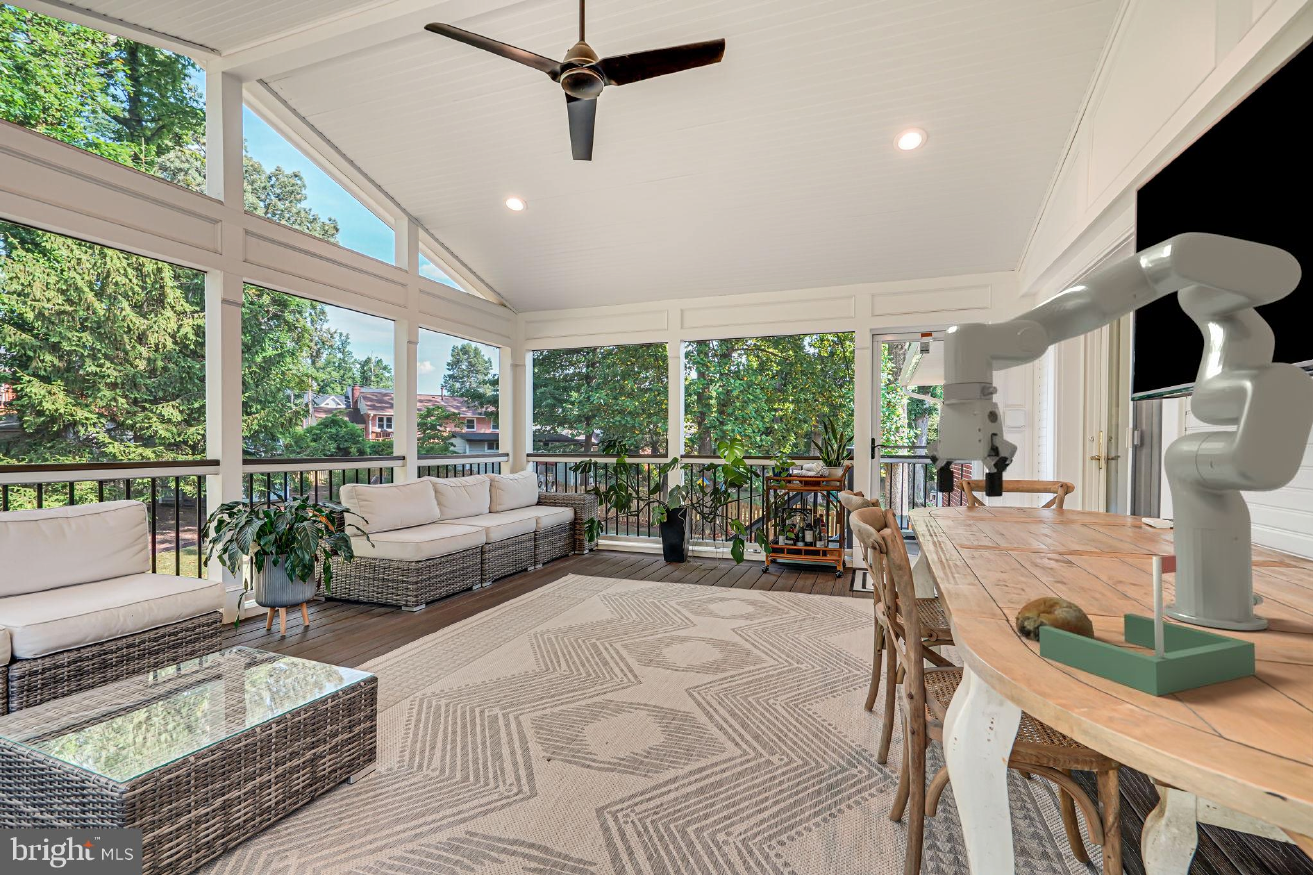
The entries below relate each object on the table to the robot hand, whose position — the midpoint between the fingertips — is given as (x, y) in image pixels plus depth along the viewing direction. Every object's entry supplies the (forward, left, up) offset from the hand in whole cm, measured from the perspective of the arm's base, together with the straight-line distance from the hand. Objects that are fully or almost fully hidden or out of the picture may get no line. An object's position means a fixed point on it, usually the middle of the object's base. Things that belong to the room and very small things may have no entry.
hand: (968, 494), depth 101 cm
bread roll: (-3, +12, -22) cm, 25 cm away
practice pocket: (-3, +24, -21) cm, 32 cm away
